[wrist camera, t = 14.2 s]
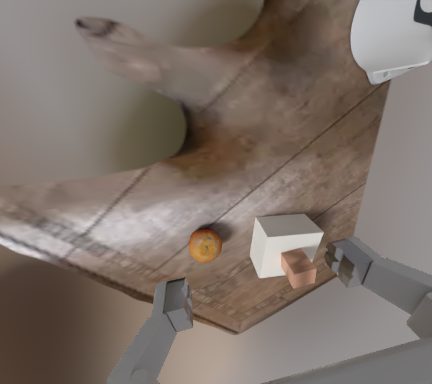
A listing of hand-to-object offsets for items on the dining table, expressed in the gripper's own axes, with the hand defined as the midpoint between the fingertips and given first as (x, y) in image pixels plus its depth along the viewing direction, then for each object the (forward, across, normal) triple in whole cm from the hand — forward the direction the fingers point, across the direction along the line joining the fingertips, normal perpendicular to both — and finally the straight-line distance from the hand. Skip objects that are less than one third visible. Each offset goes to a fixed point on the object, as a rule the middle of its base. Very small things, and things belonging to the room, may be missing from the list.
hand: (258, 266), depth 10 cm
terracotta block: (+21, -15, +29) cm, 39 cm away
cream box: (+29, -15, +29) cm, 44 cm away
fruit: (+29, +5, +23) cm, 38 cm away
